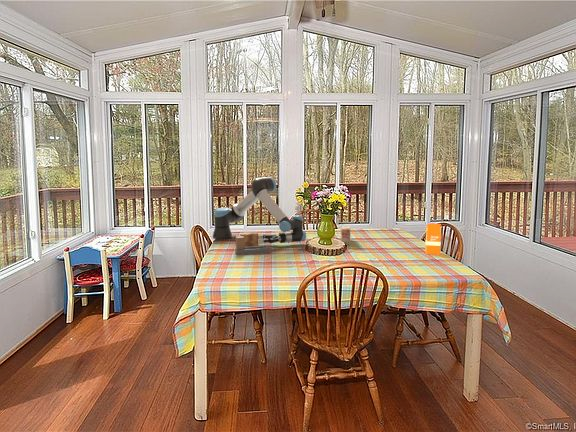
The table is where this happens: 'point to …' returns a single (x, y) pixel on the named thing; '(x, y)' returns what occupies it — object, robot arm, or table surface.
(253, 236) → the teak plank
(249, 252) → the base rail
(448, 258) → the table surface
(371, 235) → the table surface
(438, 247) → the orange juice
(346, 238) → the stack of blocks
